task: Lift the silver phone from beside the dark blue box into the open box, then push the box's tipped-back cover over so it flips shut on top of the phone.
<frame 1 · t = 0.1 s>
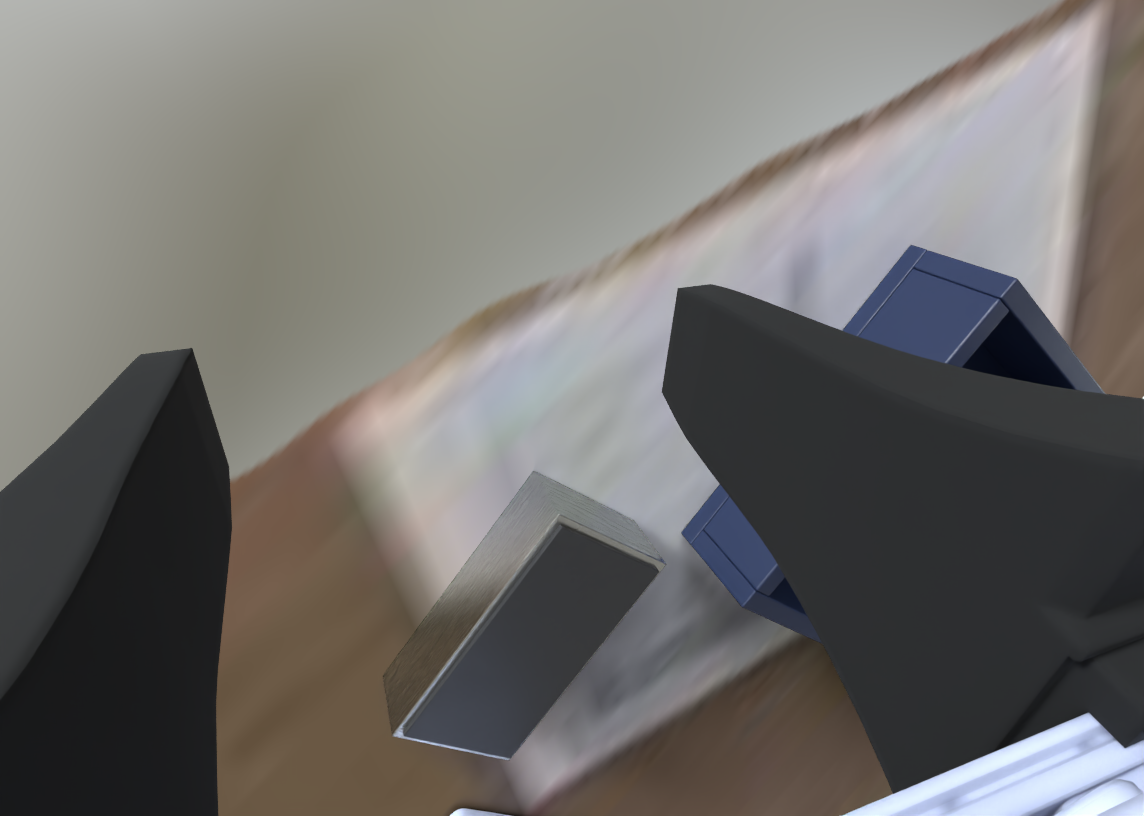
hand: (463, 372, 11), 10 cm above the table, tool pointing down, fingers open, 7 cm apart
phone: (510, 596, 27), on the table
dark blue box: (856, 445, 30), on the table
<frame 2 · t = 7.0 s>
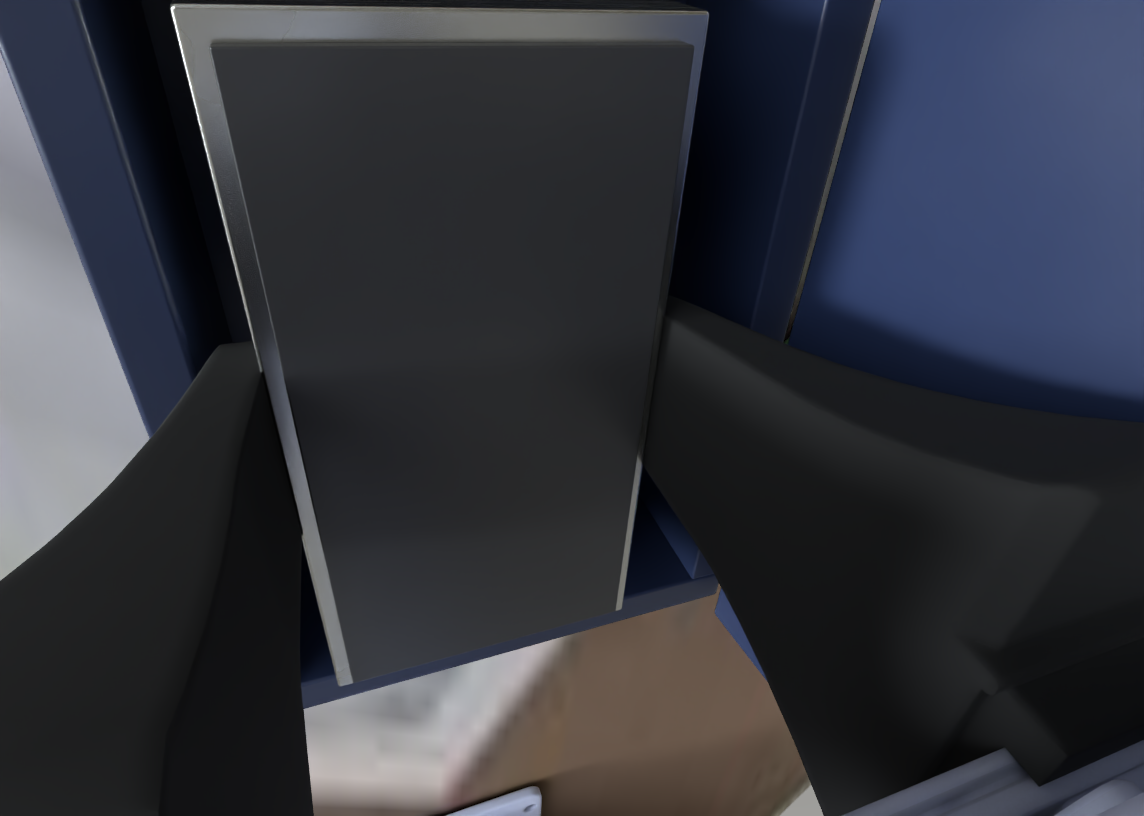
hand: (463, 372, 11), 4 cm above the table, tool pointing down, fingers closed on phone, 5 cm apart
cover: (1116, 566, 8), point 10 cm above the table, hinge at 96.0°
phone: (441, 326, 12), point 3 cm above the table, touching gripper
dark blue box: (448, 252, 14), on the table
when the fingers open (5 cm above the table, at t = 13.2 s): phone drops 3 cm, resting on dark blue box.
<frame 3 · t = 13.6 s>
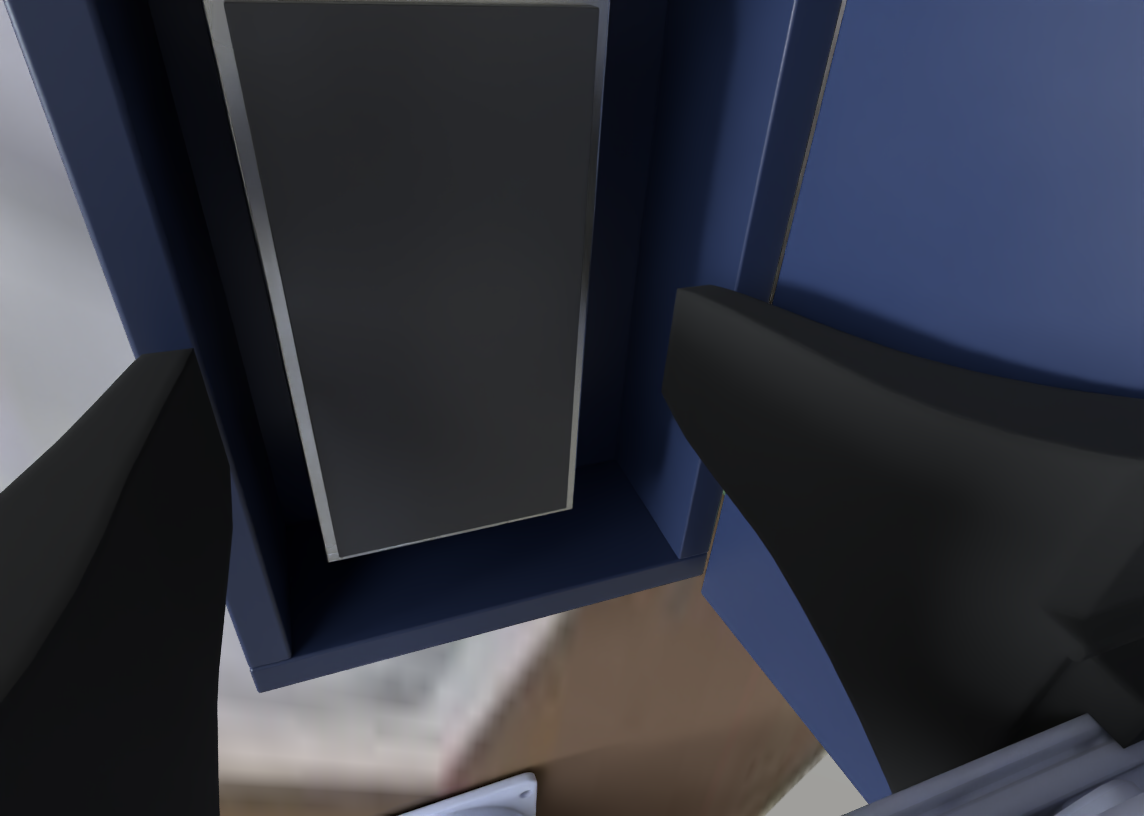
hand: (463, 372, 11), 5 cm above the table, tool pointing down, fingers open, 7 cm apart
cover: (1069, 527, 9), point 10 cm above the table, hinge at 96.6°, touching gripper
phone: (414, 257, 14), point 1 cm above the table, touching dark blue box
dark blue box: (441, 241, 15), on the table
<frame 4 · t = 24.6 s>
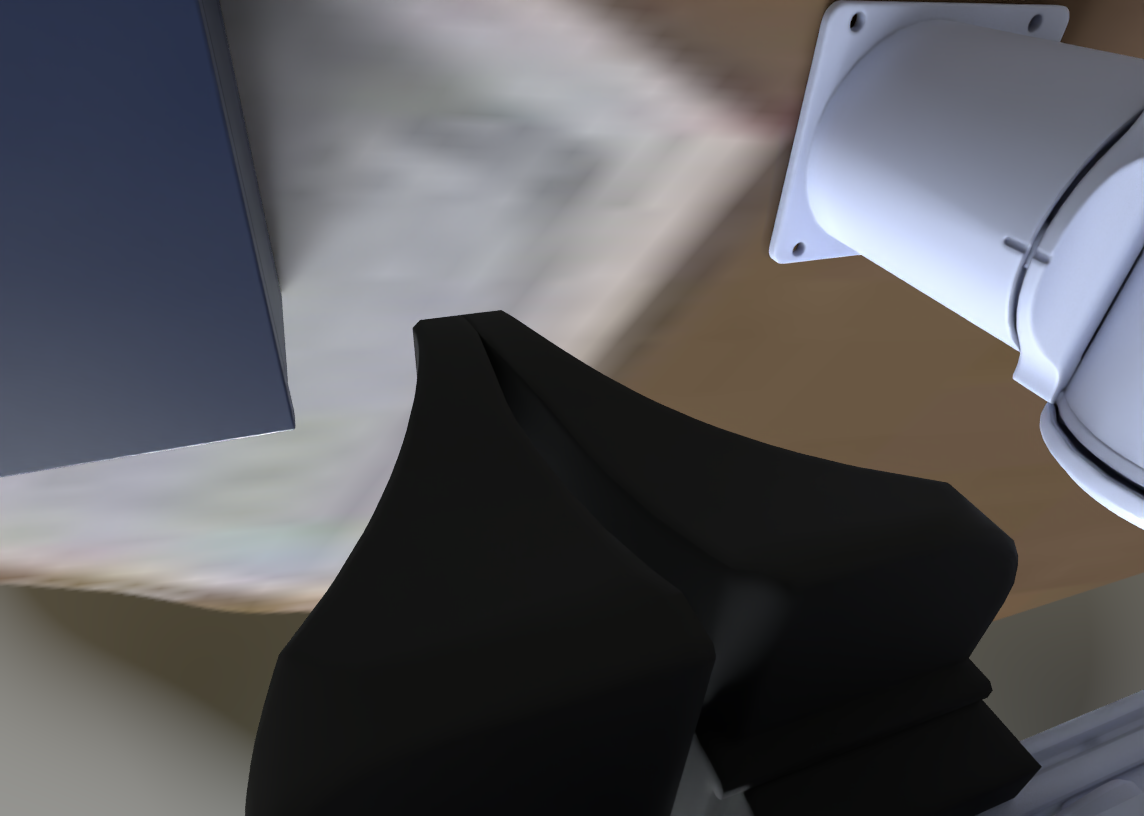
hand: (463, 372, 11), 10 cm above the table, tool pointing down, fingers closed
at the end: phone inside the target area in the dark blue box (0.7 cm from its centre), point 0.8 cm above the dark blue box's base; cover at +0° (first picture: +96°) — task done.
